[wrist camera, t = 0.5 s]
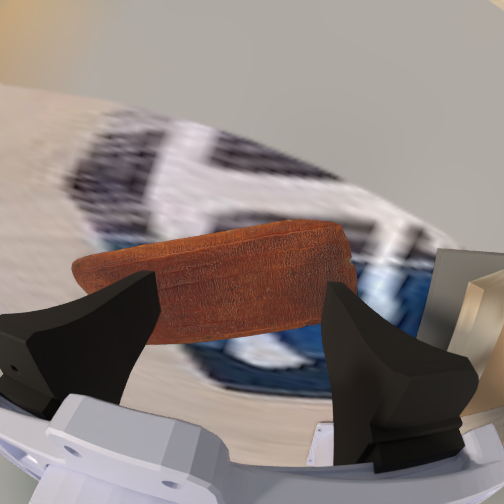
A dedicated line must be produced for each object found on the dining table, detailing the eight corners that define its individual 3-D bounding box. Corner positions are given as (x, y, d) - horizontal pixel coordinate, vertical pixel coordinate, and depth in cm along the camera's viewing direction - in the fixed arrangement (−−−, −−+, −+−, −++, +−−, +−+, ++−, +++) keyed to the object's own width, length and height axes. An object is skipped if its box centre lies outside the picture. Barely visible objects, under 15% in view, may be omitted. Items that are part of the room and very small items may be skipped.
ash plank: (449, 412, 24) (457, 419, 23) (401, 443, 22) (409, 452, 20) (507, 267, 19) (519, 273, 17) (468, 281, 16) (484, 289, 15)
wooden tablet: (104, 340, 29) (97, 348, 27) (73, 256, 26) (63, 261, 25) (358, 322, 24) (361, 332, 23) (349, 208, 21) (354, 211, 20)
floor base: (501, 397, 24) (508, 408, 22) (385, 418, 27) (389, 433, 24) (557, 257, 18) (569, 264, 16) (437, 248, 21) (450, 257, 18)
